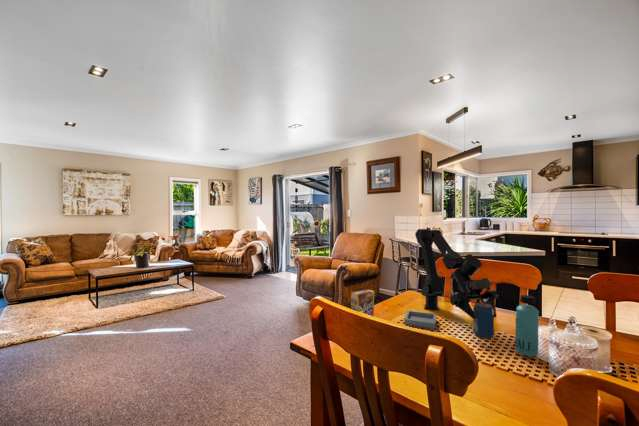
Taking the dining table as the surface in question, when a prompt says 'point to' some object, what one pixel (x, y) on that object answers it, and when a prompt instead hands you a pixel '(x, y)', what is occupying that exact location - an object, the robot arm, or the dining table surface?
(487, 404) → the dining table surface
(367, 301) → the candy box
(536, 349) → the beverage bottle
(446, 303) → the dining table surface
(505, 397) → the dining table surface
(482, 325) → the soda can
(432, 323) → the tray
